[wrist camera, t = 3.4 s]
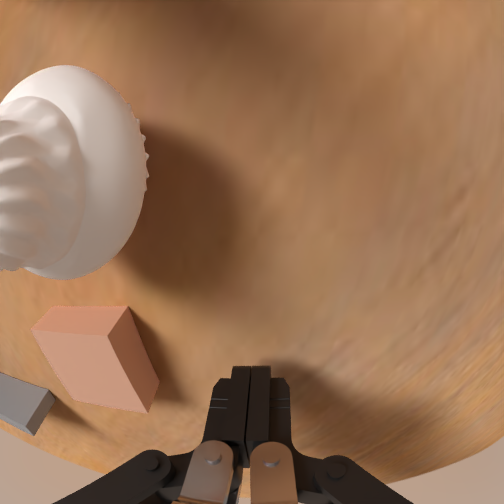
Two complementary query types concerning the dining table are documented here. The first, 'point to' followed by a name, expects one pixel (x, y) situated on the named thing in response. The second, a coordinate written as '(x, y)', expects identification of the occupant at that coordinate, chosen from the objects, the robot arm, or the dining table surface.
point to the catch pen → (23, 404)
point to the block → (98, 355)
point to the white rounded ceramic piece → (68, 173)
